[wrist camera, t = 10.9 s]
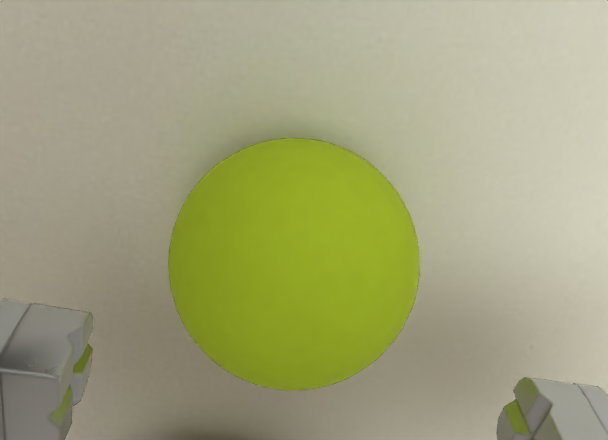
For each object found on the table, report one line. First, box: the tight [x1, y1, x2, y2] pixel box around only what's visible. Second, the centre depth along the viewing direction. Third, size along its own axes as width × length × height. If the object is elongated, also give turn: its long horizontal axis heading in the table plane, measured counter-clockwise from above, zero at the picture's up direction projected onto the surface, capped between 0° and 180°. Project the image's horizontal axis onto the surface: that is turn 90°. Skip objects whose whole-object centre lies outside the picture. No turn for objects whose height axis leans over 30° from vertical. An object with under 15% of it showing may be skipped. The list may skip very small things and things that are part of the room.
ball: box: [168, 138, 419, 390], centre depth 14 cm, size 6×6×6 cm
